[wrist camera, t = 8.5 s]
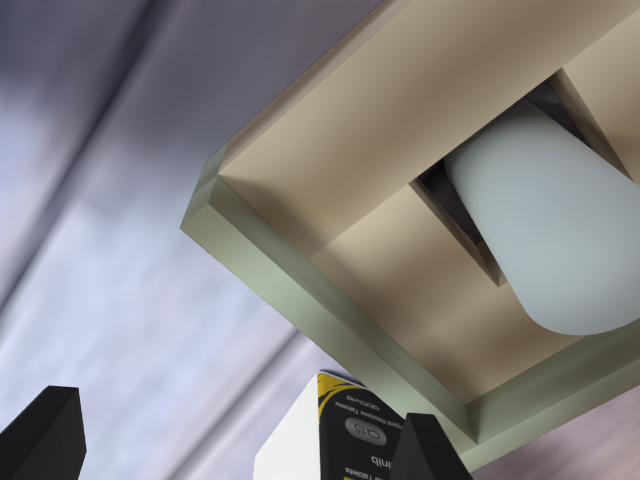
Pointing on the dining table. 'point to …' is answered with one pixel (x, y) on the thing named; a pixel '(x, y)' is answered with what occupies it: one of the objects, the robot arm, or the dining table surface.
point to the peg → (553, 220)
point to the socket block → (425, 210)
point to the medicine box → (332, 435)
